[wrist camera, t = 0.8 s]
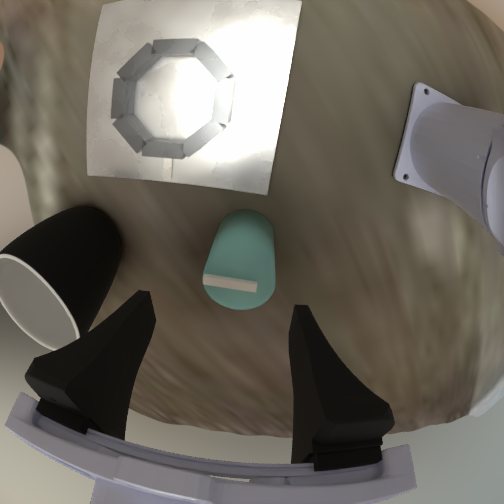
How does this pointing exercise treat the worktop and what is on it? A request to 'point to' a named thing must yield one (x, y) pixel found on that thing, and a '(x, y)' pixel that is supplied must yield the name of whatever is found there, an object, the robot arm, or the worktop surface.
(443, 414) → the worktop surface
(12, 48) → the worktop surface
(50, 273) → the mug
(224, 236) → the knob
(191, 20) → the panel
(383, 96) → the worktop surface
